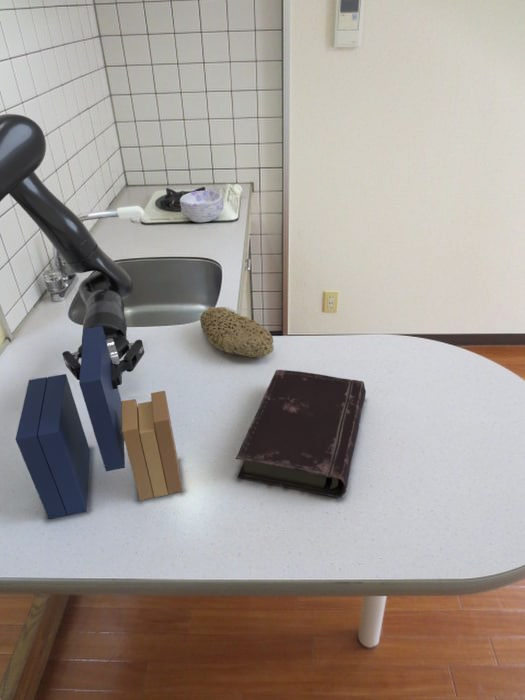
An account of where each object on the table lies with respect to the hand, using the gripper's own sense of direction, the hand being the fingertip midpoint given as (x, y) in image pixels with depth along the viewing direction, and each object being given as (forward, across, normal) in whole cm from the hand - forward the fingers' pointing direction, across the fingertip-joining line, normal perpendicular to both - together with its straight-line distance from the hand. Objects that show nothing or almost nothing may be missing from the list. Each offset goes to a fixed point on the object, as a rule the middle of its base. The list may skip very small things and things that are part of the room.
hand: (103, 386), depth 81 cm
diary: (+2, +32, +17) cm, 36 cm away
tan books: (+6, +6, +17) cm, 19 cm away
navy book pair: (+2, -9, +17) cm, 19 cm away
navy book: (+2, 0, +9) cm, 10 cm away
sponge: (-31, +26, +18) cm, 44 cm away
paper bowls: (-116, +30, +18) cm, 121 cm away
